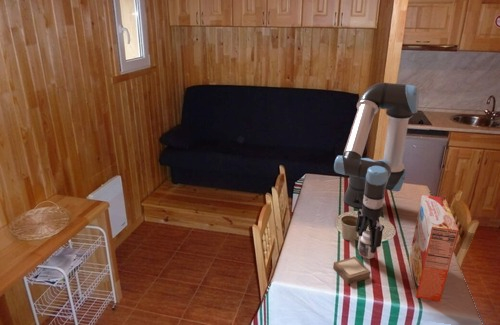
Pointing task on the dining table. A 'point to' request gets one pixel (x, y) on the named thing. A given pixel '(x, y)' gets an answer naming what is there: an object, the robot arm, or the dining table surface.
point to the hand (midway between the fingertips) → (365, 253)
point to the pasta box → (432, 247)
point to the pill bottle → (364, 243)
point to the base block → (351, 270)
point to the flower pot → (349, 227)
